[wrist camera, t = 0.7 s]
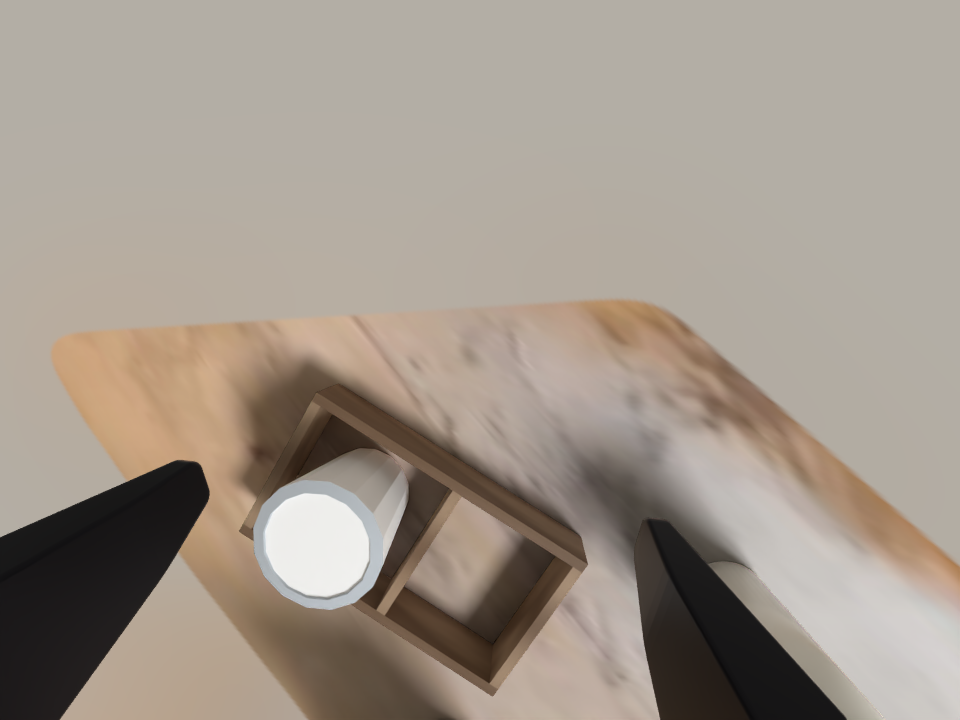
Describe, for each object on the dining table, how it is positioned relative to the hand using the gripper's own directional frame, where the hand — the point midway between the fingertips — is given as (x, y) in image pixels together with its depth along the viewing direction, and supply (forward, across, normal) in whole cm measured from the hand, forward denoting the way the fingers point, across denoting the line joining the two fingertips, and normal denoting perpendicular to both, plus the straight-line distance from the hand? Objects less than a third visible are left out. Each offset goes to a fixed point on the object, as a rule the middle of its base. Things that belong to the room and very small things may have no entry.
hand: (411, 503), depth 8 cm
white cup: (+14, +7, +14) cm, 21 cm away
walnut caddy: (+13, +4, +16) cm, 21 cm away
